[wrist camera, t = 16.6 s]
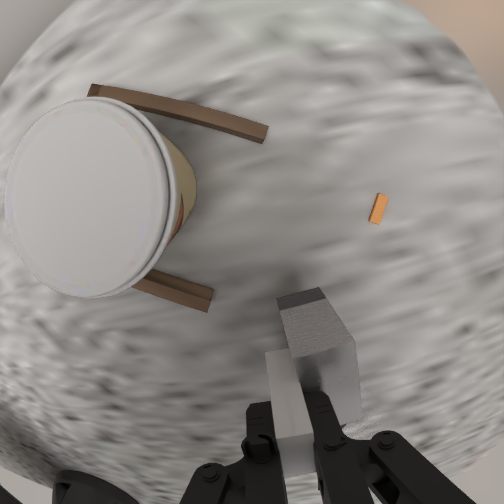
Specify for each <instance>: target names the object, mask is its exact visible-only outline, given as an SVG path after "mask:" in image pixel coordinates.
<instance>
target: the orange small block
mask: <svg viewBox="0 0 504 504" xmlns="http://www.w3.org/2000/svg"><path fill="white" fill-rule="evenodd" d="M388 198H389V197H387V196H384V195H382V194H380V193H378V195H377V198H376V201H375V204H374V207H373V210H372V212H371V215H370V218H369V221H371V222H373V223H375V224H378V225H379V224H380V221H381V218H382V215H383V212H384V210H385V207H386V204H387V201H388Z"/></svg>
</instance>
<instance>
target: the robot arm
mask: <svg viewBox="0 0 504 504" xmlns="http://www.w3.org/2000/svg"><path fill="white" fill-rule="evenodd" d="M265 359H266V367H267V374H268V382H269V390H270V397H271V401H267V402H260V403H253V404H250V405H249V407H248V409H247V411H246V420H247V421H246V426H247V437H246V438H245V439H244V440H243V441H242V444H241V448H242V451H243V454H244V457H243V458H242V459H241V460H239V461H238V462H236V463H234V464H231V465H228V466H225V467H224V466H223V465H221V464H218V463H207V464H204V465H202V466H200V467H199V468H197V470H196V471H195V472H194V474H193V476H192V478H191V481H190V483H189V485H188V487H187V489H186V491H185V493H184V495H183V497H182V499H181V501H180V503H179V504H288V500H287V493H286V486H285V481H284V478H285V477H292V476H297V475H303V474H309V473H314V472H317V476H318V490H320V492H321V496H322V500H323V504H374V501H373V499H372V496H371V494H370V491H369V488H370V489H371V490H372V492H373V493H374V494H375V495H376V497H377V498H378V499H379V500H380V501H381V503H382V504H476V503H475V502H474V501H473V500H472V499H470V498H469V497H468V496H467V495H466V494H465V493H464V492H462V491H461V490H460V489H459V488H458V487H457V486H456V485H455V484H453V483H452V482H451V481H450V480H449V479H448V478H447V477H446V476H445V475H444V474H442V473H441V472H440V471H439V470H438V469H437V468H436V467H435V466H434V465H433V464H431V463H430V462H429V461H428V460H427V459H426V458H425V457H424V456H423V455H422V454H421V453H419V452H418V451H417V450H416V449H415V448H414V447H413V446H412V445H411V444H410V443H409V442H408V441H407V440H406V439H404V438H403V437H402V436H401V435H400V434H399V433H397V432H395V431H390V430H389V431H382V432H379V433H377V434H375V435H374V436H373V437H372V439H371V440H355V439H351V438H349V437H347V436H346V435H345V434H344V433H343V431H342V429H341V426H340V424H339V421H338V418H337V416H336V413H335V411H334V408H333V405H332V403H331V400H330V398H329V396H328V395H327V394H326V393H324V392H323V391H318V392H313V393H308V394H303V393H302V389H301V386H300V382H298V381H297V377H296V373H295V369H294V365H293V361H292V357H291V353H290V349H289V348H286V349H280V350H274V351H268V352H265ZM368 487H369V488H368ZM0 504H22V503H21V502H20V501H19V500H17V499H16V498H15V497H14V496H13V495H11V494H10V493H9V492H8V491H7V490H6V489H4V488H3V487H2V486H1V485H0ZM52 504H138V503H137V502H136V501H135V500H134V499H133V498H131V497H130V496H129V495H127V494H126V493H124V492H123V491H121V490H120V489H118V488H116V487H114V486H112V485H111V484H109V483H106V482H104V481H102V480H100V479H98V478H95V477H92V476H90V475H87V474H84V473H80V472H75V471H62V472H60V473H59V474H58V475H57V477H56V479H55V481H54V484H53V494H52Z"/></svg>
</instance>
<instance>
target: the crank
mask: <svg viewBox="0 0 504 504" xmlns="http://www.w3.org/2000/svg"><path fill="white" fill-rule="evenodd" d="M276 299H277V303H278V307H279V311H280V315H281V319H282V323H283V327H284V331H285V335H286V339H287V343H288V347H289V349H290V353H291V357H292V361H293V365H294V369H295V373H296V377H297V381H298V382H300V386H301V389H302V393H303V394H308V393H313V392H318V391H323V392H324V393H326V394H327V395H328V396H329V398H330V400H331V403H332V405H333V408H334V411H335V413H336V416H337V418H338V421H339V424H340V426H341V429H342V428H343V427H344V426H345V425H346V424H347V423H350V422H353V421H356V420H359V419H362V405H361V393H360V382H359V372H358V363H357V354H356V346H355V341H354V339H353V338H352V336H351V334H350V333H349V331H348V330H347V328H346V327H345V325H344V324H343V322H342V321H341V319H340V318H339V316H338V315H337V313H336V312H335V310H334V309H333V307H332V306H331V304H330V303H329V301H328V300H327V298H326V297H325V295H324V294H323V292H322V291H321V290H320V288H319V287H317V288H314V289H310V290H306V291H302V292H299V293H295V294H291V295H287V296H284V297H280V298H276Z"/></svg>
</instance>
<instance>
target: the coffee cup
mask: <svg viewBox="0 0 504 504" xmlns="http://www.w3.org/2000/svg"><path fill="white" fill-rule="evenodd" d="M196 194H197V184H196V178H195V174H194V171H193V168H192V166H191V164H190V163H189V161H188V160H187V158H186V157H185V156H184V155H183V153H182V152H181V151H180V150H179V149H178V148H177V147H175V146H174V145H173V144H172V143H171V142H170V141H169V140H168V139H167V138H166V137H164V136H163V135H162V134H161V133H160V132H159V131H158V130H157V129H156V127H155V126H154V125H153V124H152V123H151V122H150V121H149V120H148V119H147V118H146V117H145V116H144V115H143V114H142V113H141V112H139V111H138V110H136V109H135V108H133V107H132V106H130V105H128V104H126V103H124V102H121V101H118V100H115V99H111V98H106V97H84V98H79V99H75V100H72V101H69V102H67V103H65V104H63V105H61V106H58V107H56V108H54V109H52V110H51V111H49V112H48V113H46V114H45V115H43V116H42V117H41V118H40V119H39V120H37V121H36V122H35V123H34V124H33V125H32V126H31V127H30V129H29V130H28V131H27V133H26V134H25V135H24V137H23V138H22V140H21V141H20V143H19V144H18V146H17V148H16V150H15V152H14V155H13V157H12V159H11V162H10V165H9V169H8V172H7V176H6V183H5V191H4V209H5V218H6V223H7V228H8V232H9V235H10V238H11V240H12V243H13V245H14V247H15V250H16V252H17V253H18V255H19V257H20V259H21V260H22V262H23V263H24V264H25V266H26V267H27V268H28V269H29V271H30V272H31V273H32V274H33V275H34V276H35V277H36V278H37V279H38V280H40V281H41V282H42V283H44V284H45V285H46V286H48V287H50V288H51V289H53V290H55V291H57V292H60V293H63V294H66V295H70V296H74V297H80V298H103V297H108V296H111V295H115V294H118V293H120V292H122V291H124V290H126V289H128V288H129V287H131V286H133V285H134V284H136V283H137V282H138V281H140V280H141V279H142V278H143V277H144V276H145V275H146V274H147V273H148V272H149V271H150V270H151V269H152V268H153V266H154V265H155V264H156V262H157V261H158V260H159V258H160V256H161V255H162V253H163V251H164V250H165V248H166V246H167V245H168V244H169V242H170V241H171V240H172V239H173V237H174V236H175V235H176V233H177V232H178V231H179V230H180V228H181V227H182V226H183V224H184V223H185V222H186V220H187V219H188V217H189V215H190V214H191V212H192V210H193V207H194V204H195V200H196Z"/></svg>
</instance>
